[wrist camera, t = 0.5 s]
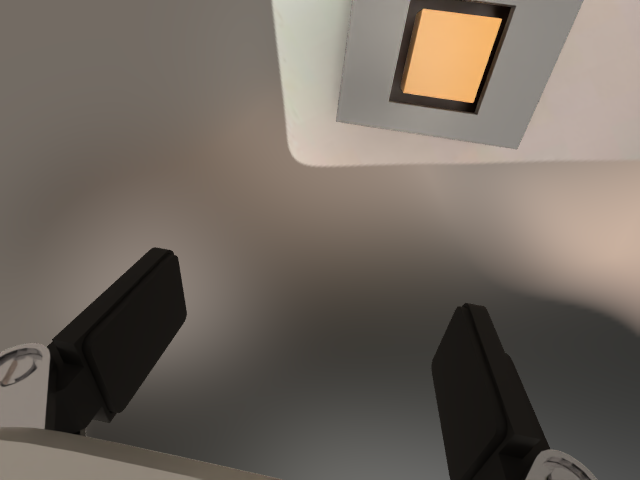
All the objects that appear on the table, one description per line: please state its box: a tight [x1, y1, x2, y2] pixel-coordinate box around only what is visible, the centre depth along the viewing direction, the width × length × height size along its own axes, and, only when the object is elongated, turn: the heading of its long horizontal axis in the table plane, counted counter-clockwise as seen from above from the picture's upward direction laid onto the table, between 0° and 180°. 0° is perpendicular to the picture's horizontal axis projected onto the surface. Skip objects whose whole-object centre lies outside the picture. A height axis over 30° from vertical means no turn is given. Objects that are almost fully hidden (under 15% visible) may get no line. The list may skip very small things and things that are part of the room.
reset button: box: [400, 9, 502, 103], centre depth 26 cm, size 6×6×4 cm
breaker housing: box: [336, 0, 583, 149], centre depth 28 cm, size 12×16×6 cm
